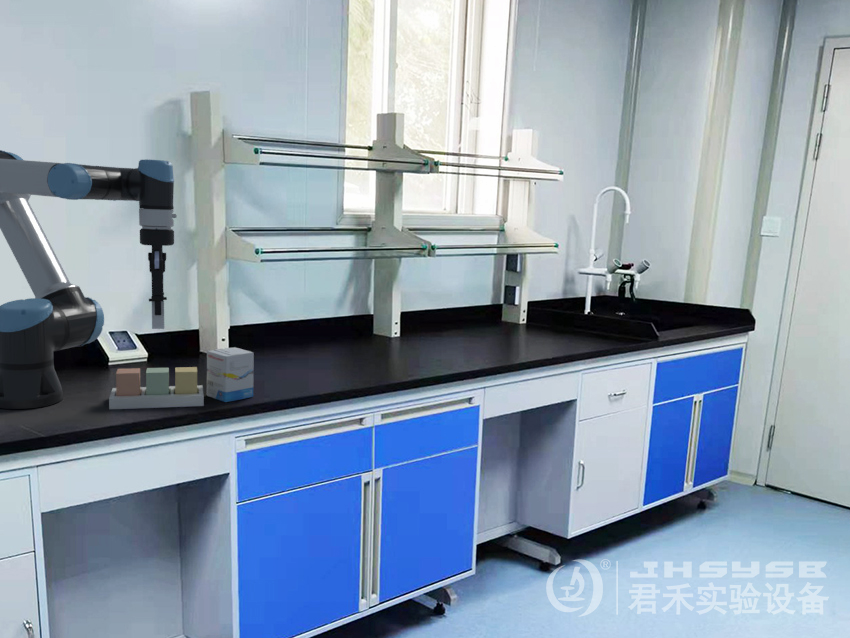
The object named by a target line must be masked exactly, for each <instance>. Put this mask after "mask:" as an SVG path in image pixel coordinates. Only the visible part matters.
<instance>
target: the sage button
mask: <svg viewBox="0 0 850 638" xmlns="http://www.w3.org/2000/svg"><path fill="white" fill-rule="evenodd" d="M169 386H170V368H169V367H147V368H146V372H145V387H146V395H169Z"/></svg>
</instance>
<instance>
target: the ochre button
mask: <svg viewBox="0 0 850 638" xmlns="http://www.w3.org/2000/svg"><path fill="white" fill-rule="evenodd" d="M174 369H175V371H174V372H175V377H174V379H175V380H174V381H175V383H174V384H175V385H174V386H175V394H197V386H198V366H192V367H191V366H189V367H187V366H186V367H183V366H182V367H181V366H180V367H175V368H174Z"/></svg>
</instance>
